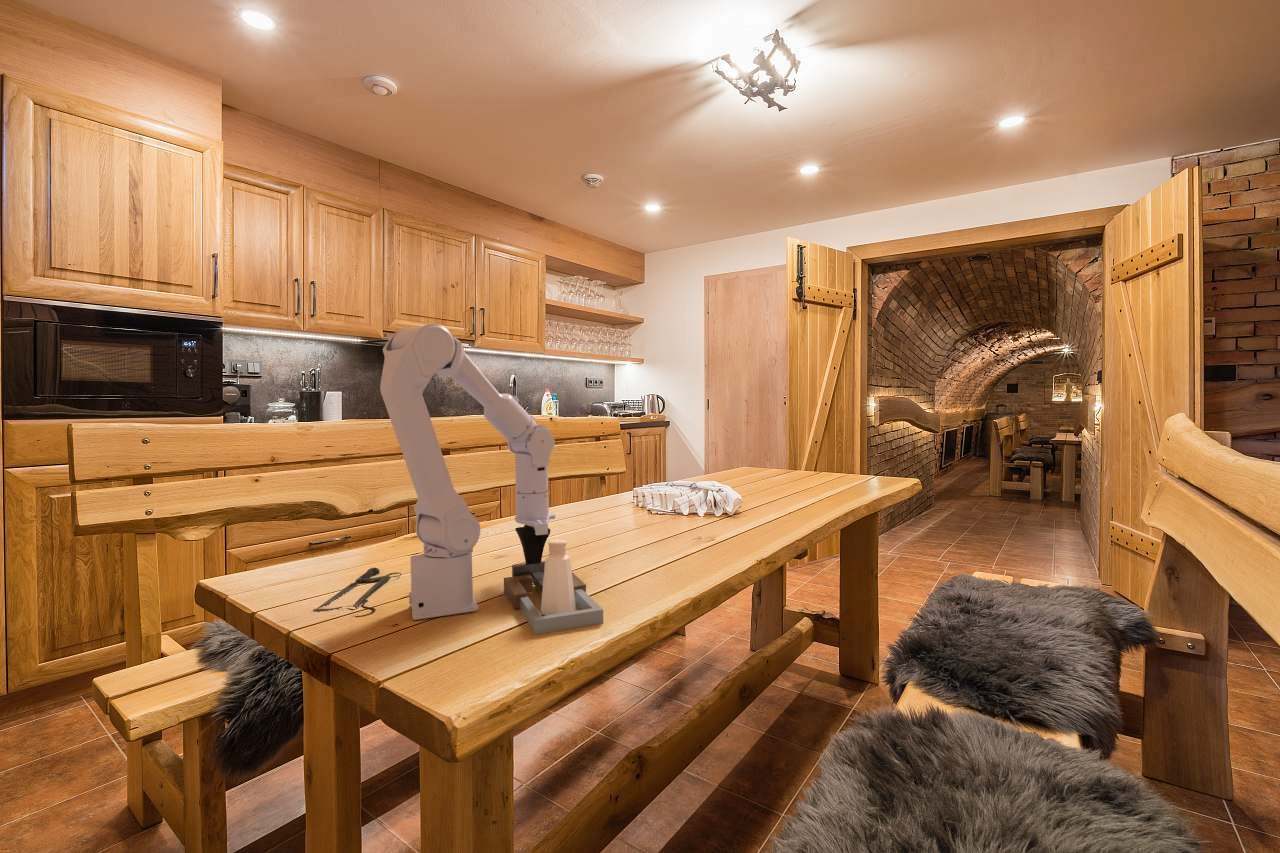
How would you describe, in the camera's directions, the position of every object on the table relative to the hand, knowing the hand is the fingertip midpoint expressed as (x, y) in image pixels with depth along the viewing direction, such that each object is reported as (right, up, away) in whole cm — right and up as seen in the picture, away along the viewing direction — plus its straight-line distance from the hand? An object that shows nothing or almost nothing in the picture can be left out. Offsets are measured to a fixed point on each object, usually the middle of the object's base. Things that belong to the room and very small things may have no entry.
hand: (533, 567), depth 103 cm
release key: (+3, -2, -7) cm, 8 cm away
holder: (+3, -3, -8) cm, 9 cm away
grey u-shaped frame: (+7, -3, -16) cm, 18 cm away
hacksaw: (-28, -4, -4) cm, 28 cm away
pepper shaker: (+6, -4, -14) cm, 16 cm away
